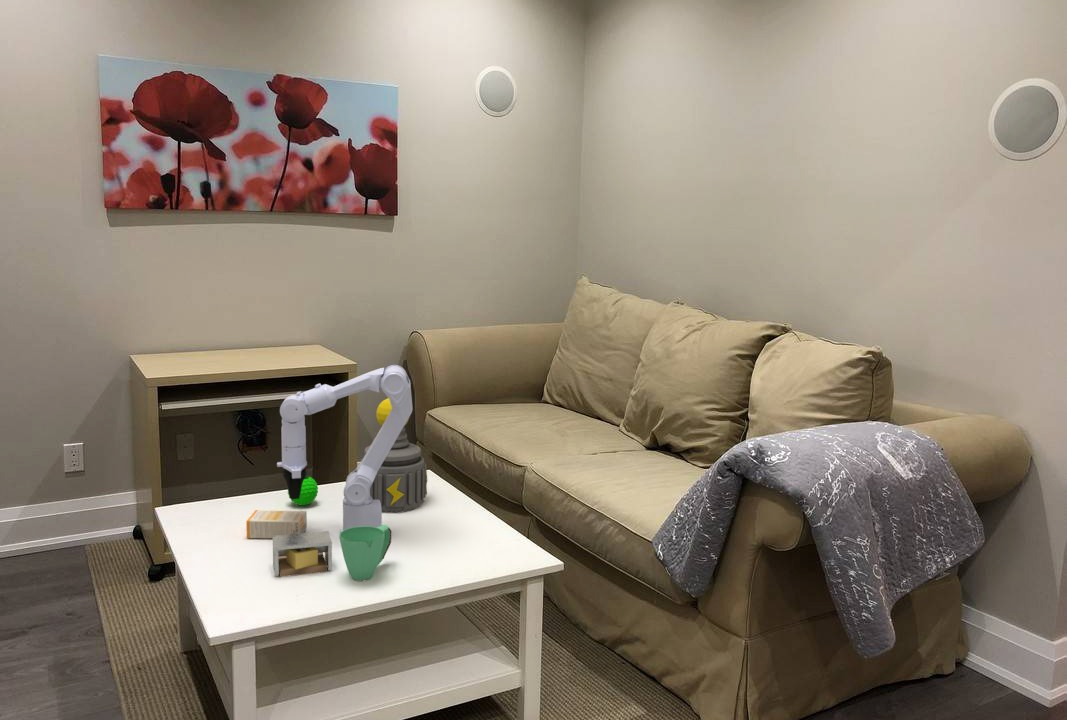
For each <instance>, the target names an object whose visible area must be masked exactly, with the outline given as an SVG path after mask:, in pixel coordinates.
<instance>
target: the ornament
mask: <svg viewBox="0 0 1067 720" xmlns="http://www.w3.org/2000/svg"><path fill="white" fill-rule="evenodd" d="M318 489H319V487H318V483H317V482H316V480H315V479H314V478H313V477H311V476H310V475H307V474H306V476H305V478H304V480H303V483H302V487H301V493H300V497H299V499H290V496H289V492H288V491H287V495H288V498H289V499H290V500H291V502H293V503H294V504H297V506H298V505H299V506H307V505H309V504H311V503H312V502H314V500H315V499H316V498H317V496H318V493H319V491H318Z"/></svg>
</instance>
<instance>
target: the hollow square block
mask: <svg viewBox="0 0 1067 720" xmlns="http://www.w3.org/2000/svg"><path fill="white" fill-rule="evenodd" d="M286 559H287V562H288V563H289V564H290V565H291V566H292V567H294V568H295V569H299V568H304V567H308V566H312V565H317V564H318V549H316V548H315V547H307V548H306V550H305V551H300V552H299V548H296V549H286Z"/></svg>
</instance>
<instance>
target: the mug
mask: <svg viewBox="0 0 1067 720" xmlns="http://www.w3.org/2000/svg"><path fill="white" fill-rule="evenodd" d="M392 532H393V531H392V529H391V528H390V526H389V525H387V524H382V525H381V526H379V527H378V528H376V527H370V526H359V527H352V528H348V529H346V530H344V531H342V532H341V533H340V532H339V538H338V539H339V542H340V546H341V547H340V548H341V551H342V555H343V560H344V563H345V566H346V568H347V571H348V573H349V576H350V579H352V580H353V579H354V580H353V581H356V580H361V581H360V582H364V581H363V580H366V581H370V580H371V579H372V577H373V578H374V575H375V573H376V570H377V568H378V566H379V564H381V562H382V561H383V560H384V559H385V556H386V554H387V552H388V551H389V548H390V545H391V543H392Z"/></svg>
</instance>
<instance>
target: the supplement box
mask: <svg viewBox="0 0 1067 720" xmlns="http://www.w3.org/2000/svg"><path fill="white" fill-rule="evenodd" d="M245 527H246V538H247V539H273V536H277V535H289V534H300V533H305V531H306V529H307V527H308V517H307V510H275V509H273V510H270V509H269V510H266V509H255V510H254V512H253V513H251V515H250V517H248V519H246V525H245Z"/></svg>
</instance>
